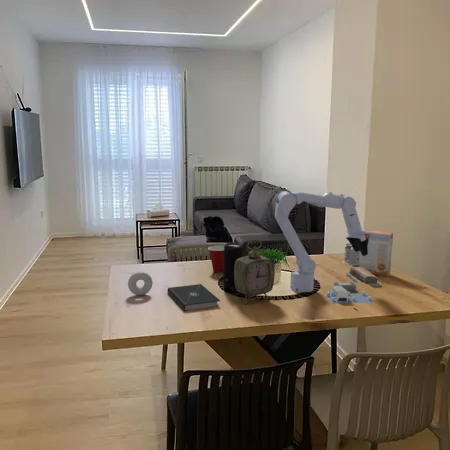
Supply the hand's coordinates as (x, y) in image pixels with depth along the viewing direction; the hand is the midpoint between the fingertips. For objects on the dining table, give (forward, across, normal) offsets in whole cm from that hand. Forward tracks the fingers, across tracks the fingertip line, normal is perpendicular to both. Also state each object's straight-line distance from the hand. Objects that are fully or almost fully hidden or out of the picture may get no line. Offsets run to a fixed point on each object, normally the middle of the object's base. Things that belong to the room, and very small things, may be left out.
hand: (361, 253), depth 200 cm
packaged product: (+19, +16, -2) cm, 25 cm away
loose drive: (+14, 0, +12) cm, 18 cm away
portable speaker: (-2, +9, +56) cm, 57 cm away
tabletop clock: (0, -6, +51) cm, 51 cm away
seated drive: (+11, -10, +18) cm, 23 cm away
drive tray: (+13, -10, +14) cm, 22 cm away
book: (-8, -4, +73) cm, 74 cm away
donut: (-15, +3, +93) cm, 94 cm away
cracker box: (+22, +26, -12) cm, 36 cm away
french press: (+20, +47, -9) cm, 52 cm away
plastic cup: (-4, +36, +59) cm, 69 cm away
